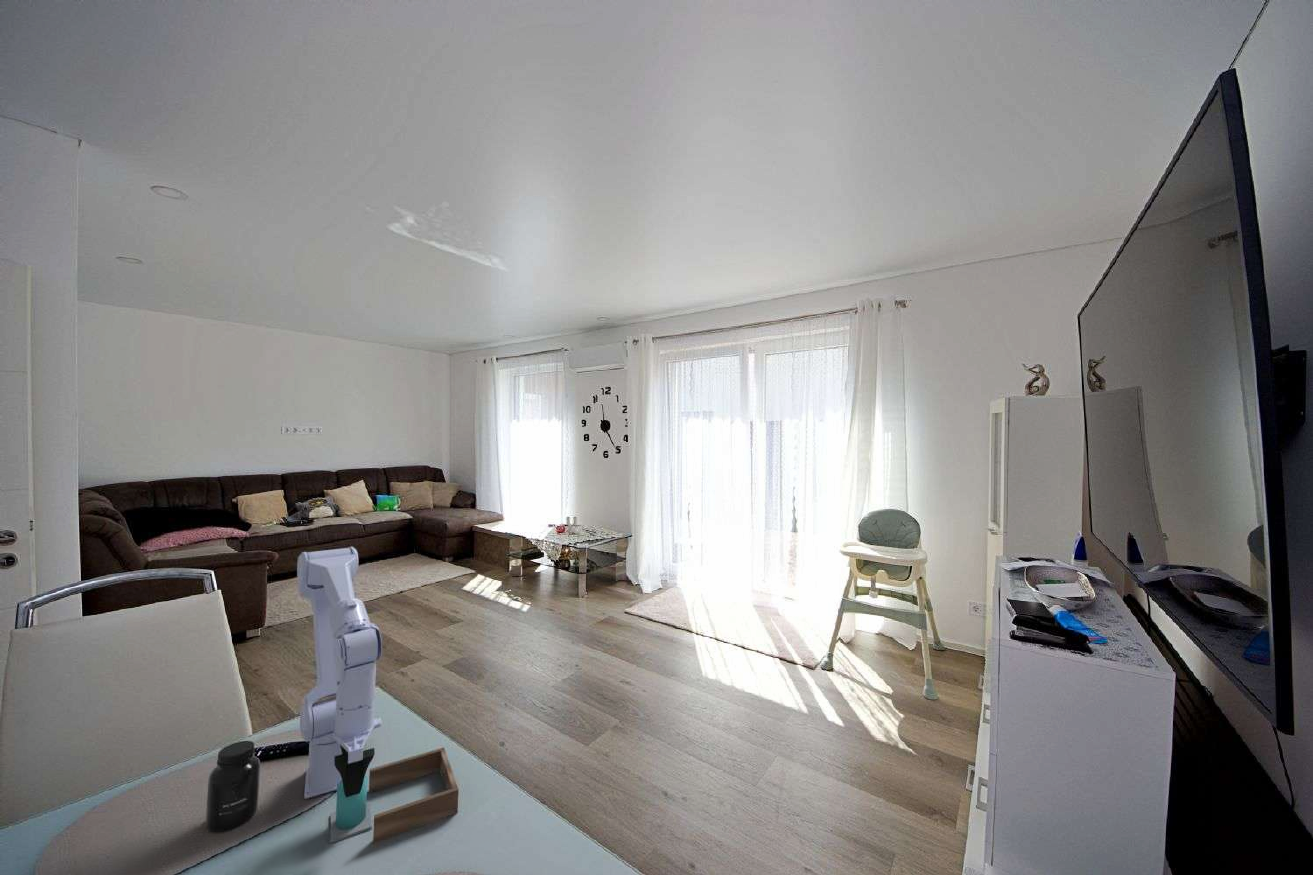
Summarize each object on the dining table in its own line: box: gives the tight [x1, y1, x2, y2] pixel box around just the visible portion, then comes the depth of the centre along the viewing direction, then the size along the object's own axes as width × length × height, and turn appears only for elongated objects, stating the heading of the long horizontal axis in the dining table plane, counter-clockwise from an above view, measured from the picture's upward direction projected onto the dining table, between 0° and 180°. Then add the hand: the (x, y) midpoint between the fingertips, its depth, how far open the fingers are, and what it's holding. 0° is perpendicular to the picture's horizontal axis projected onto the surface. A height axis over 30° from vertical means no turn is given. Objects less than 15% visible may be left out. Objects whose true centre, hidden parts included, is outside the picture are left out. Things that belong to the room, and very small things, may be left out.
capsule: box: [335, 774, 368, 830], centre depth 84 cm, size 4×4×6 cm
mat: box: [329, 800, 373, 844], centre depth 84 cm, size 7×6×1 cm
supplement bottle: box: [205, 740, 261, 834], centre depth 84 cm, size 7×7×12 cm
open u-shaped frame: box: [368, 747, 459, 844], centre depth 89 cm, size 14×13×4 cm
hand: (352, 780), depth 84 cm, fingers open, 7 cm apart
